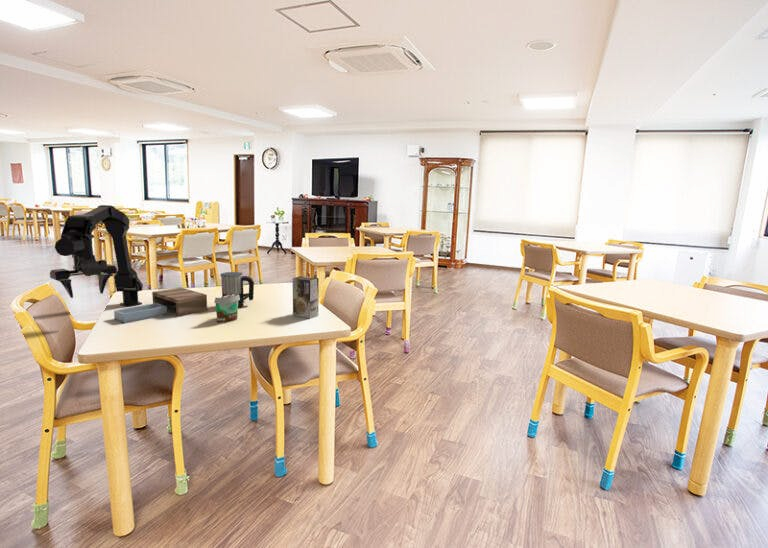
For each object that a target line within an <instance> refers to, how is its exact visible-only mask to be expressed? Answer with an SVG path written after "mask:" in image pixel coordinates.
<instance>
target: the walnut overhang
mask: <svg viewBox="0 0 768 548" xmlns="http://www.w3.org/2000/svg"><path fill="white" fill-rule="evenodd" d="M151 294H152V295H151V296H152V304H153V303H158V304H161V305H164V306H165V304H169V303H174V302H175V303H176V307H175V312H176V317H179V318H181V317H184V316H190V315H193V314H198V313H202V312H207V311H208V297H207V294H205V293H202V292H199V291H194V290H192V289H189V288H188V289H187V288H185V287H182V286H181V287H174V288H167V289H161V290H155V291H152V292H151Z"/></svg>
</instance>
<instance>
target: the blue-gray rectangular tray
mask: <svg viewBox="0 0 768 548" xmlns="http://www.w3.org/2000/svg"><path fill="white" fill-rule="evenodd" d="M167 315H168V308H167V306H164V305H161V304H158V303H153V302H152V303H149V304H144V305H143V304H141V305H136V306H130V307H126V308H121V309H115V310H113V316H114V320H115V321H118V322H120V323H123V324H129V323H134V322H138V321H144V320H149V319H154V318H158V317H163V316H167Z"/></svg>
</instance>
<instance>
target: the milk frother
mask: <svg viewBox="0 0 768 548" xmlns="http://www.w3.org/2000/svg"><path fill="white" fill-rule="evenodd" d="M243 274H244V273H243V272H240V271H226V272H225V271H224V272H222V273H220V274H219V275H220V278H221V279H220V280H221V295H222V296H221V297H223V296H225V295H230V294H231V292H237V293H238V295H239V297H240V300H239V301H238V309H239V308H242V307H243V306H244V305H245V304H244V301H245V300H247V299H248V300H249V301H253V300H254V293H255V291H254V289H255V283H254V282H255V281H254V279H253V278H252V277H250V276H249V275H248V276H247V275H243ZM244 282H247V283H248V292H247V293H244Z"/></svg>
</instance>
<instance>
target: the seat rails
mask: <svg viewBox="0 0 768 548" xmlns="http://www.w3.org/2000/svg"><path fill="white" fill-rule="evenodd" d="M165 306H167V309H171V308H176V303H175V302H174V303H169V304H165Z"/></svg>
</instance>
